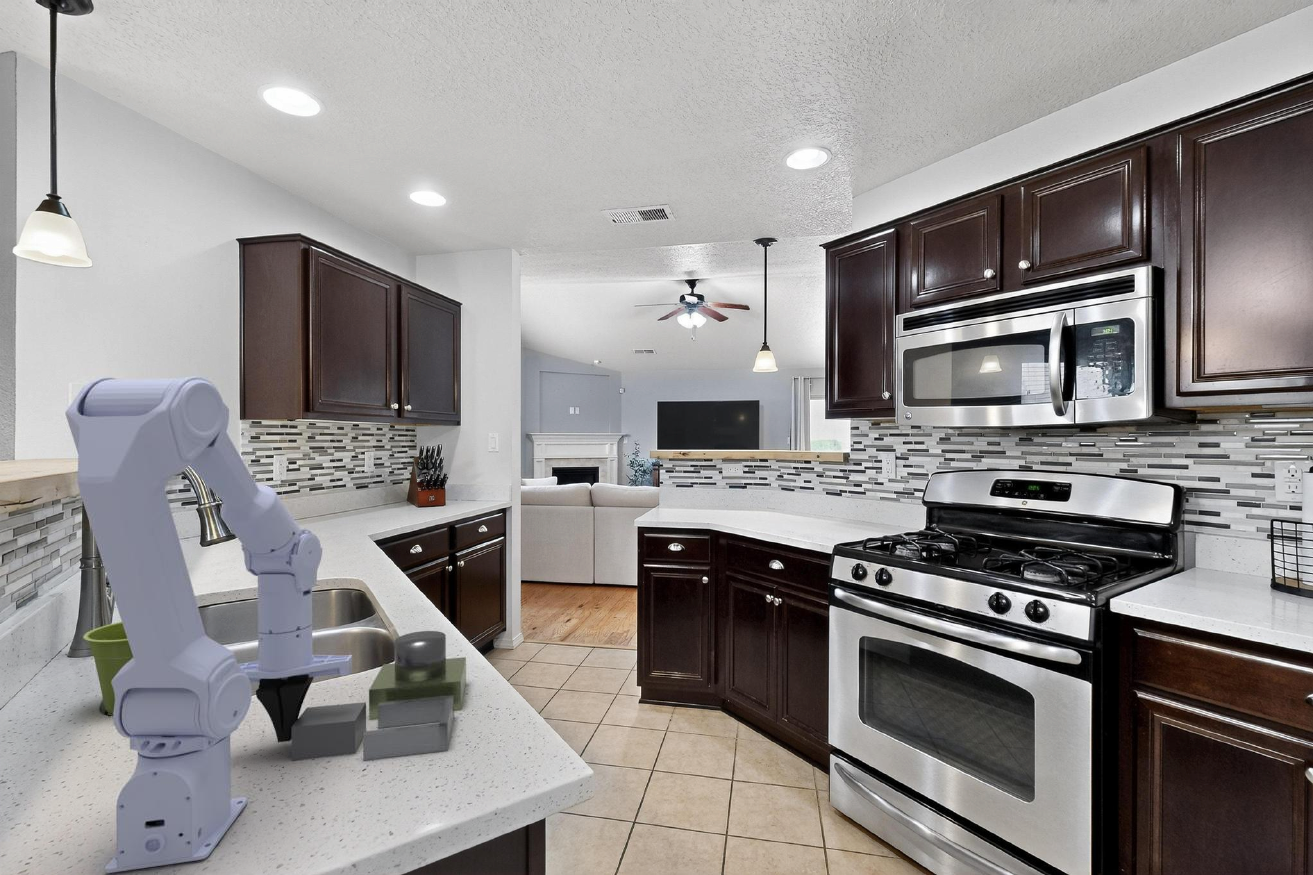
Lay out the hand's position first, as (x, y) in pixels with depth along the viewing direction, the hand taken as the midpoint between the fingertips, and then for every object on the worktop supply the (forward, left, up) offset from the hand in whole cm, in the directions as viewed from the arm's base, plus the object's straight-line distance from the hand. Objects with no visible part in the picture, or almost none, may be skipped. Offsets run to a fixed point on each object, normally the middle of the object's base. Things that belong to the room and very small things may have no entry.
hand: (286, 738), depth 76 cm
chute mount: (+6, -14, -2) cm, 15 cm away
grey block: (0, -5, -2) cm, 5 cm away
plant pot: (+21, +26, -2) cm, 34 cm away
